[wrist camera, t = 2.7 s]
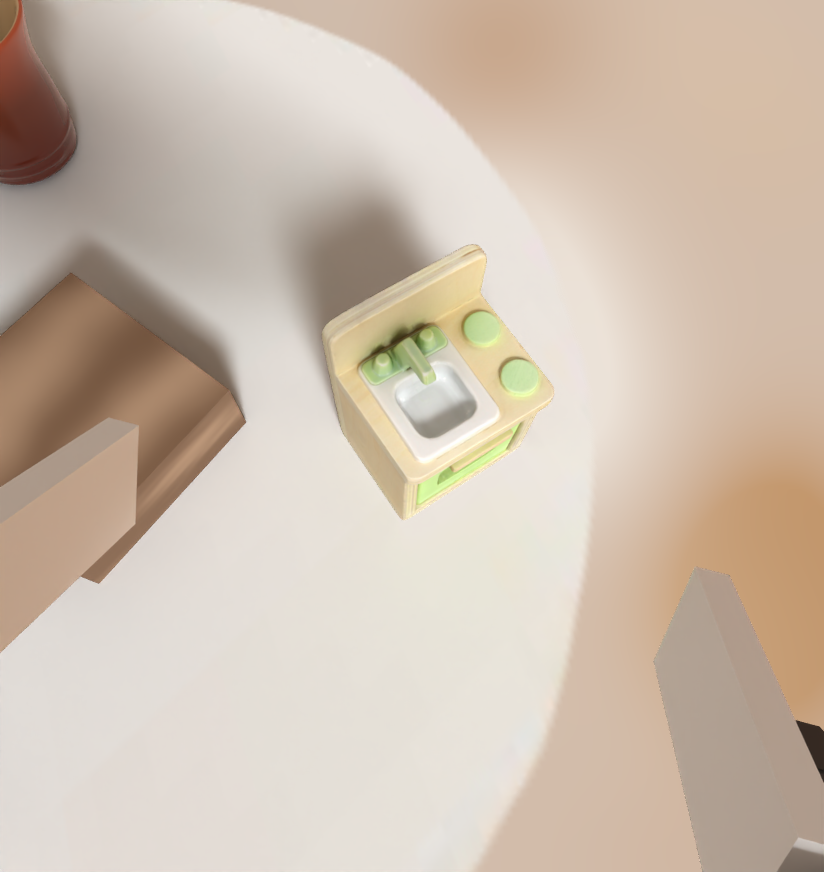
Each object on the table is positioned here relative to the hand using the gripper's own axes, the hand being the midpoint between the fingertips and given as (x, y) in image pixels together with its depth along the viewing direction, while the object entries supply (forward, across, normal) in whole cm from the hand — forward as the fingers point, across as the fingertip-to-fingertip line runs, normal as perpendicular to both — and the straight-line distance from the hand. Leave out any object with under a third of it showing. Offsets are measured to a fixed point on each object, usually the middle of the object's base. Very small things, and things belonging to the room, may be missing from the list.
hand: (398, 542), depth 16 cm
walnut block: (+21, -20, -12) cm, 31 cm away
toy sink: (+24, -1, -8) cm, 26 cm away
